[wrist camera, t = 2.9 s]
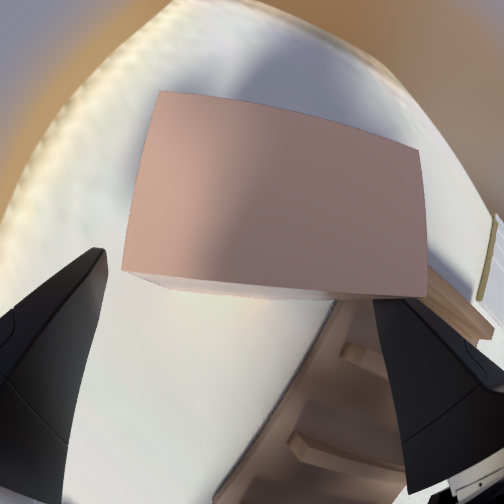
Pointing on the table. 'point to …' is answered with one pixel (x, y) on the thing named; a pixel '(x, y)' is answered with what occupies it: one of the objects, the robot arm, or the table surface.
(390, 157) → the pinkish tan block
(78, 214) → the table surface
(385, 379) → the drying rack
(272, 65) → the table surface
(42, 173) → the table surface
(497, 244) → the baseboard molding
